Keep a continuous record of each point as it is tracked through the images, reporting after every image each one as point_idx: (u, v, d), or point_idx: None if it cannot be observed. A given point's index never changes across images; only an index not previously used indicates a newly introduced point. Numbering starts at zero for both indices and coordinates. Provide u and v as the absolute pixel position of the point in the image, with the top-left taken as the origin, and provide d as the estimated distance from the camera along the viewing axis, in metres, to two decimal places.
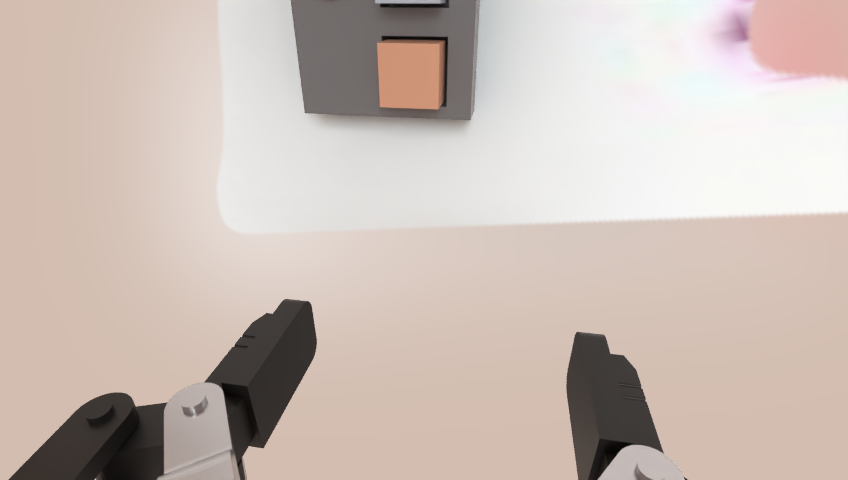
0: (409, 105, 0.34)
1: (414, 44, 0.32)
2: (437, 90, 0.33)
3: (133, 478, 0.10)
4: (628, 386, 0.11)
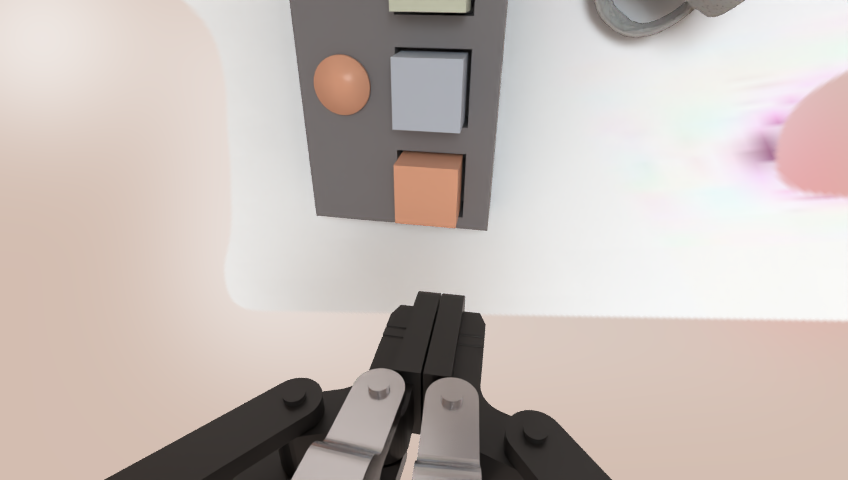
0: (425, 223, 0.33)
1: (432, 168, 0.31)
2: (455, 211, 0.32)
3: None
4: (473, 337, 0.13)
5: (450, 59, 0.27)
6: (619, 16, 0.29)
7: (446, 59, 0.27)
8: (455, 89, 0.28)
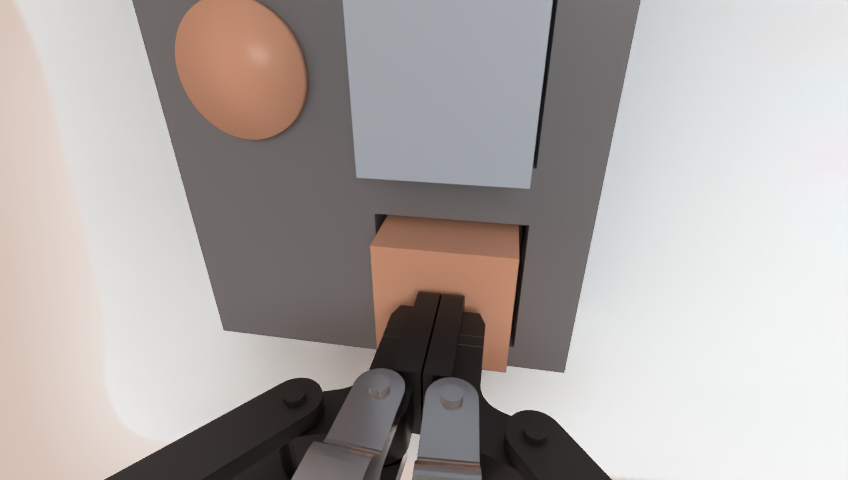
0: None
1: (458, 255, 0.13)
2: (506, 341, 0.15)
3: None
4: (473, 337, 0.13)
5: None
6: None
7: None
8: (524, 72, 0.10)
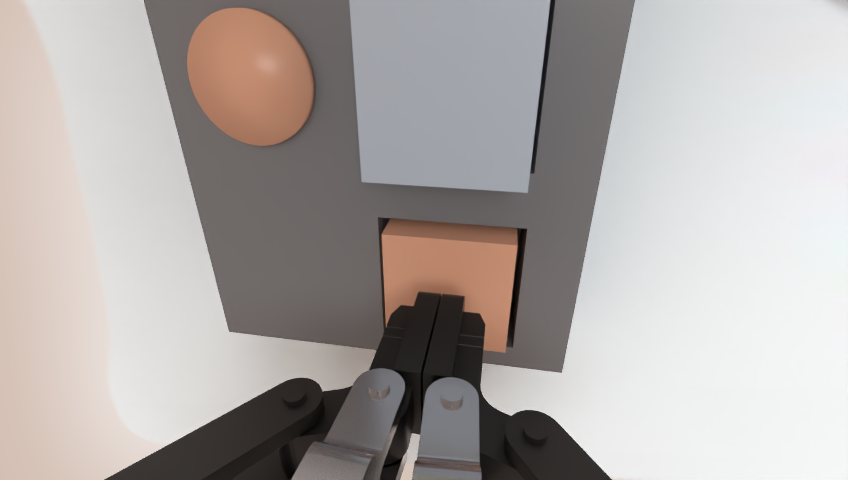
0: None
1: (462, 242, 0.15)
2: (506, 323, 0.16)
3: None
4: (473, 337, 0.13)
5: None
6: None
7: None
8: (522, 82, 0.10)
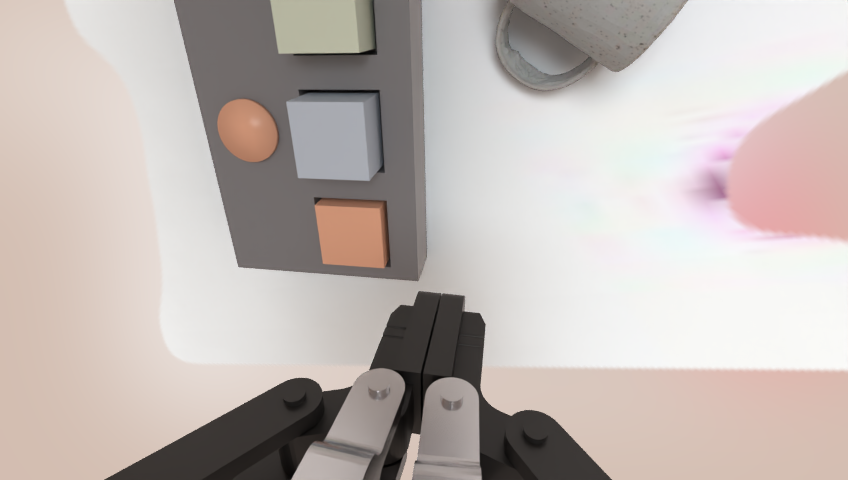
0: (353, 263, 0.31)
1: (353, 208, 0.29)
2: (381, 251, 0.30)
3: None
4: (473, 337, 0.13)
5: (349, 102, 0.25)
6: (528, 69, 0.27)
7: (345, 102, 0.25)
8: (358, 134, 0.25)
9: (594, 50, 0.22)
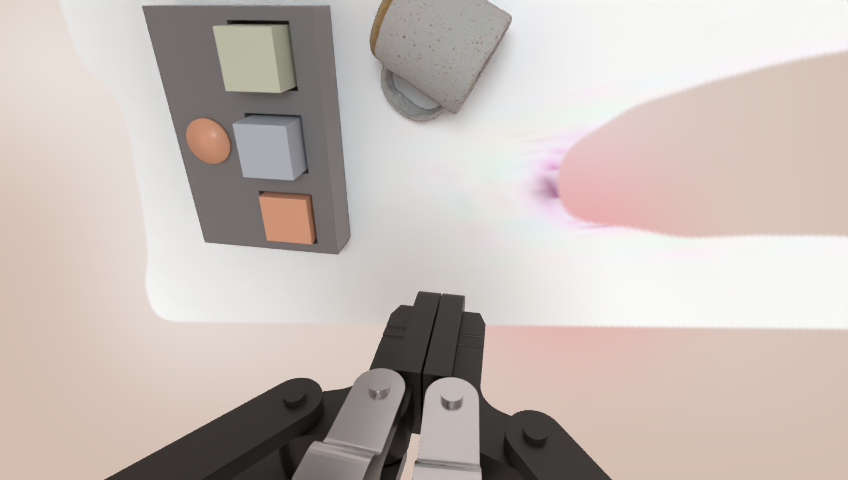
0: (289, 240, 0.42)
1: (287, 199, 0.40)
2: (309, 231, 0.41)
3: None
4: (473, 337, 0.13)
5: (276, 125, 0.35)
6: (408, 104, 0.38)
7: (273, 125, 0.35)
8: (283, 147, 0.36)
9: (435, 100, 0.33)
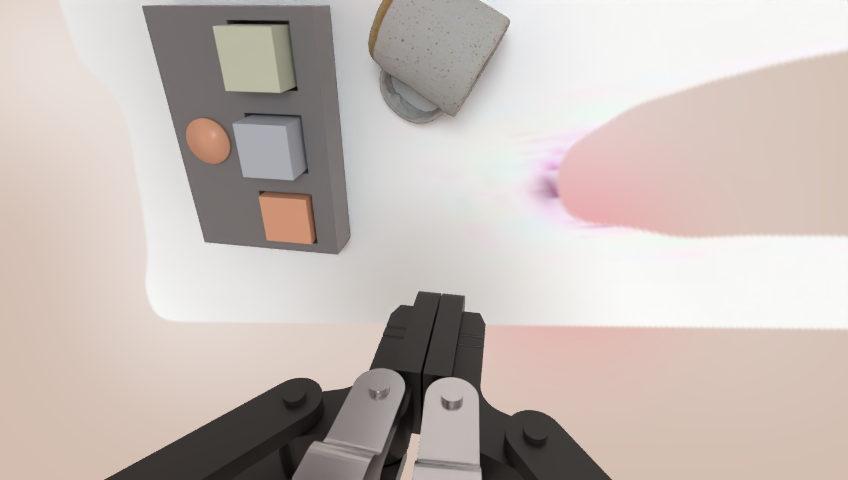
0: (289, 240, 0.42)
1: (287, 199, 0.40)
2: (309, 231, 0.41)
3: None
4: (473, 337, 0.13)
5: (276, 125, 0.35)
6: (406, 107, 0.38)
7: (273, 125, 0.35)
8: (283, 147, 0.36)
9: (434, 102, 0.33)
